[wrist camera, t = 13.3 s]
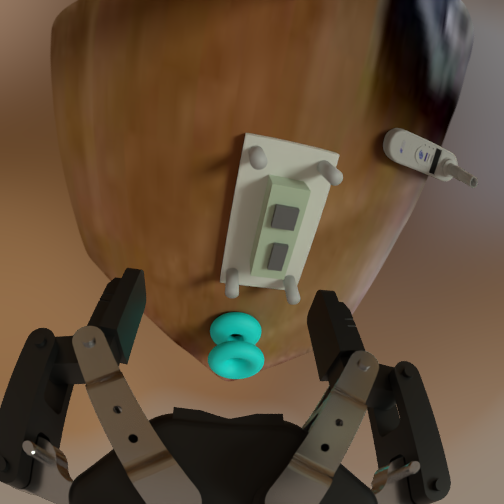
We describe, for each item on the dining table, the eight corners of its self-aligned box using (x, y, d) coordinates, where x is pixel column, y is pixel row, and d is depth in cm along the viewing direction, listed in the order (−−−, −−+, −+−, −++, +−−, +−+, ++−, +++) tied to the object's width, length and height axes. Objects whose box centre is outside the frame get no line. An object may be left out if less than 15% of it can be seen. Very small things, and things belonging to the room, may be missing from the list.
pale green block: (268, 174, 36) (273, 185, 32) (304, 181, 37) (312, 193, 33) (249, 260, 44) (250, 279, 40) (280, 264, 44) (284, 283, 40)
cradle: (245, 132, 35) (247, 140, 29) (335, 152, 36) (352, 164, 31) (220, 276, 47) (218, 302, 42) (293, 285, 49) (300, 311, 43)
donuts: (275, 359, 45) (249, 385, 49) (269, 317, 53) (247, 346, 58) (220, 344, 42) (199, 374, 46) (222, 302, 50) (203, 334, 55)
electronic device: (421, 134, 26) (488, 172, 28) (386, 122, 34) (452, 153, 36) (409, 173, 29) (477, 203, 31) (377, 154, 37) (443, 180, 39)
